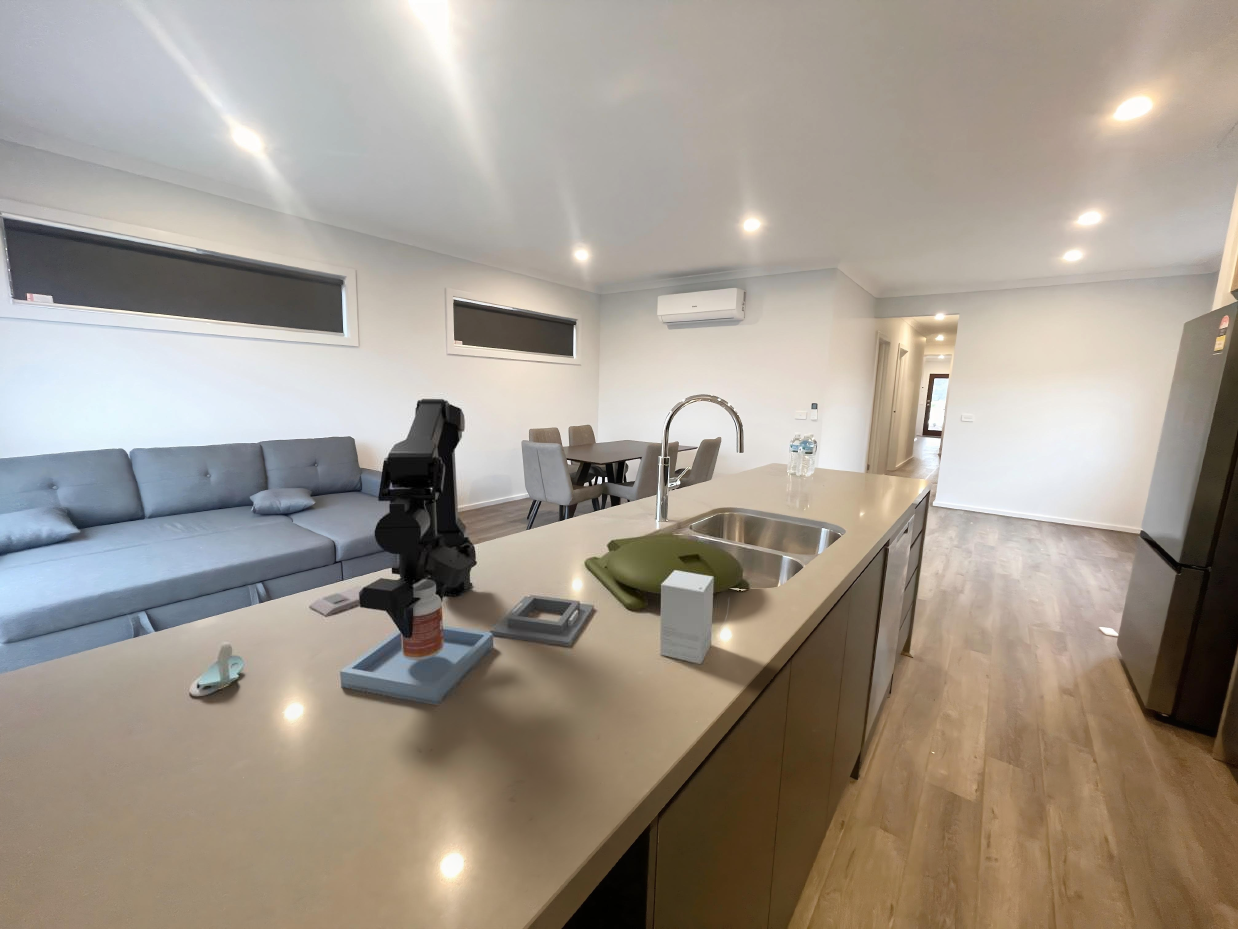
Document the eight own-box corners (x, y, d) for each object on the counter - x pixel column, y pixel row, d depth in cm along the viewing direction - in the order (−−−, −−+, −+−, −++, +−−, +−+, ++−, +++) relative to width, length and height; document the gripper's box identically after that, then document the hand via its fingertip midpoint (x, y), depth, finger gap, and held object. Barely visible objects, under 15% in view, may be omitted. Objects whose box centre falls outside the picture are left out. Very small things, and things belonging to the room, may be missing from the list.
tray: (341, 686, 71) (339, 671, 70) (411, 634, 86) (411, 621, 86) (437, 705, 67) (436, 688, 67) (493, 646, 83) (493, 633, 82)
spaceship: (581, 565, 122) (581, 528, 121) (686, 551, 134) (687, 517, 133) (641, 629, 91) (643, 579, 89) (772, 603, 103) (775, 559, 101)
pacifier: (182, 705, 67) (236, 692, 69) (175, 664, 66) (230, 652, 68) (198, 677, 73) (247, 666, 76) (192, 639, 72) (241, 629, 75)
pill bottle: (450, 652, 76) (447, 585, 75) (410, 667, 72) (407, 597, 70) (434, 637, 81) (431, 574, 79) (395, 650, 77) (391, 584, 75)
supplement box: (712, 644, 85) (715, 576, 83) (700, 666, 78) (704, 592, 76) (672, 635, 88) (674, 568, 86) (657, 654, 81) (660, 583, 79)
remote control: (299, 613, 94) (297, 599, 94) (376, 587, 107) (375, 574, 107) (315, 623, 91) (314, 608, 90) (393, 594, 104) (393, 581, 103)
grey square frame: (490, 634, 86) (489, 622, 86) (525, 600, 101) (525, 589, 101) (569, 646, 83) (569, 633, 83) (594, 608, 97) (594, 597, 97)
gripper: (425, 557, 63) (430, 668, 65) (494, 520, 80) (496, 608, 83) (352, 549, 65) (360, 656, 68) (435, 514, 83) (439, 600, 85)
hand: (421, 627), depth 76 cm, fingers closed on pill bottle, 6 cm apart
